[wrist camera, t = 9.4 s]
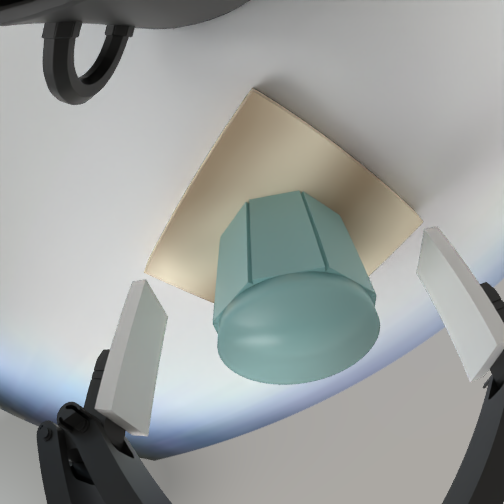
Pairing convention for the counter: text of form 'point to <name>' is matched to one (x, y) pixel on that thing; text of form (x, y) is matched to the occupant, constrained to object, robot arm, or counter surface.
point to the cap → (291, 293)
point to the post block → (272, 183)
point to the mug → (117, 33)
